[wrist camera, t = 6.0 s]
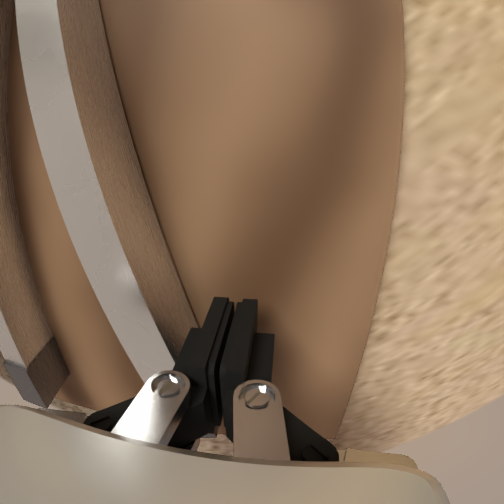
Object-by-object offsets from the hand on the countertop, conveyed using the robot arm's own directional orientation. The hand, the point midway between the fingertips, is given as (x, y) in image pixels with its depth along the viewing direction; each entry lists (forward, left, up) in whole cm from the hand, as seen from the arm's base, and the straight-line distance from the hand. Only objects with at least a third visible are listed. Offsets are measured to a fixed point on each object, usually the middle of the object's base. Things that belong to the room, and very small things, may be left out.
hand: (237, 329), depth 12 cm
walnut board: (-5, +8, -3) cm, 9 cm away
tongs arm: (-6, +7, -1) cm, 9 cm away
